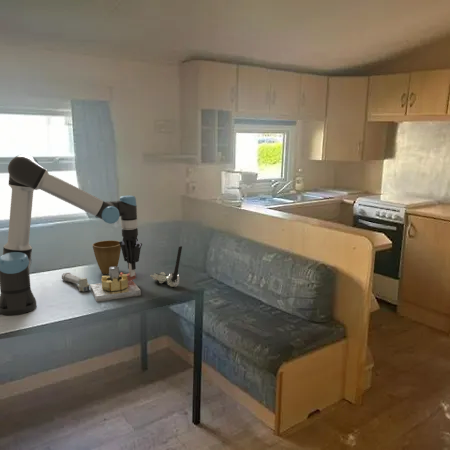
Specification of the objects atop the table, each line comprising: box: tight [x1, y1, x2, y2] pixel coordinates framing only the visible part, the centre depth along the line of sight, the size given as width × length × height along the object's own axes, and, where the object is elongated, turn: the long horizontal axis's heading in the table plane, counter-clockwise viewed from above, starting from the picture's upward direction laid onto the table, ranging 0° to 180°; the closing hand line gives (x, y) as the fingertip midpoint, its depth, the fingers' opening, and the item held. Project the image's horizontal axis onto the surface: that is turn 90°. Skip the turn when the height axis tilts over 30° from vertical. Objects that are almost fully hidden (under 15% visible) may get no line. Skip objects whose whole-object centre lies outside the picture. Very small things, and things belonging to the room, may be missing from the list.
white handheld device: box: [61, 272, 91, 292], centre depth 226 cm, size 5×7×25 cm
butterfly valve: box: [150, 245, 183, 288], centre depth 229 cm, size 9×20×17 cm
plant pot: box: [92, 239, 122, 275], centre depth 247 cm, size 15×15×16 cm
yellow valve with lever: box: [101, 271, 137, 291], centre depth 219 cm, size 20×12×5 cm, turn 152°
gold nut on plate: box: [89, 266, 142, 302], centre depth 215 cm, size 20×18×12 cm
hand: (132, 275), depth 224 cm, fingers closed
